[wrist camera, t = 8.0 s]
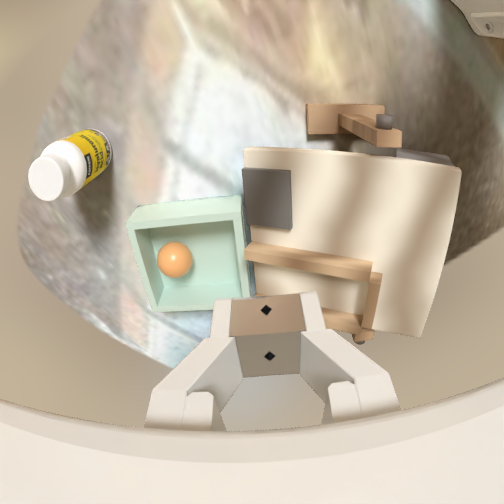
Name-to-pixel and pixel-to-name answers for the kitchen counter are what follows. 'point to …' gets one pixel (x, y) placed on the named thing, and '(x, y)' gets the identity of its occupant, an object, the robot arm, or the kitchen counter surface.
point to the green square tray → (192, 251)
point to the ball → (174, 259)
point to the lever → (351, 231)
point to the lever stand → (363, 125)
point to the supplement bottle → (69, 164)
